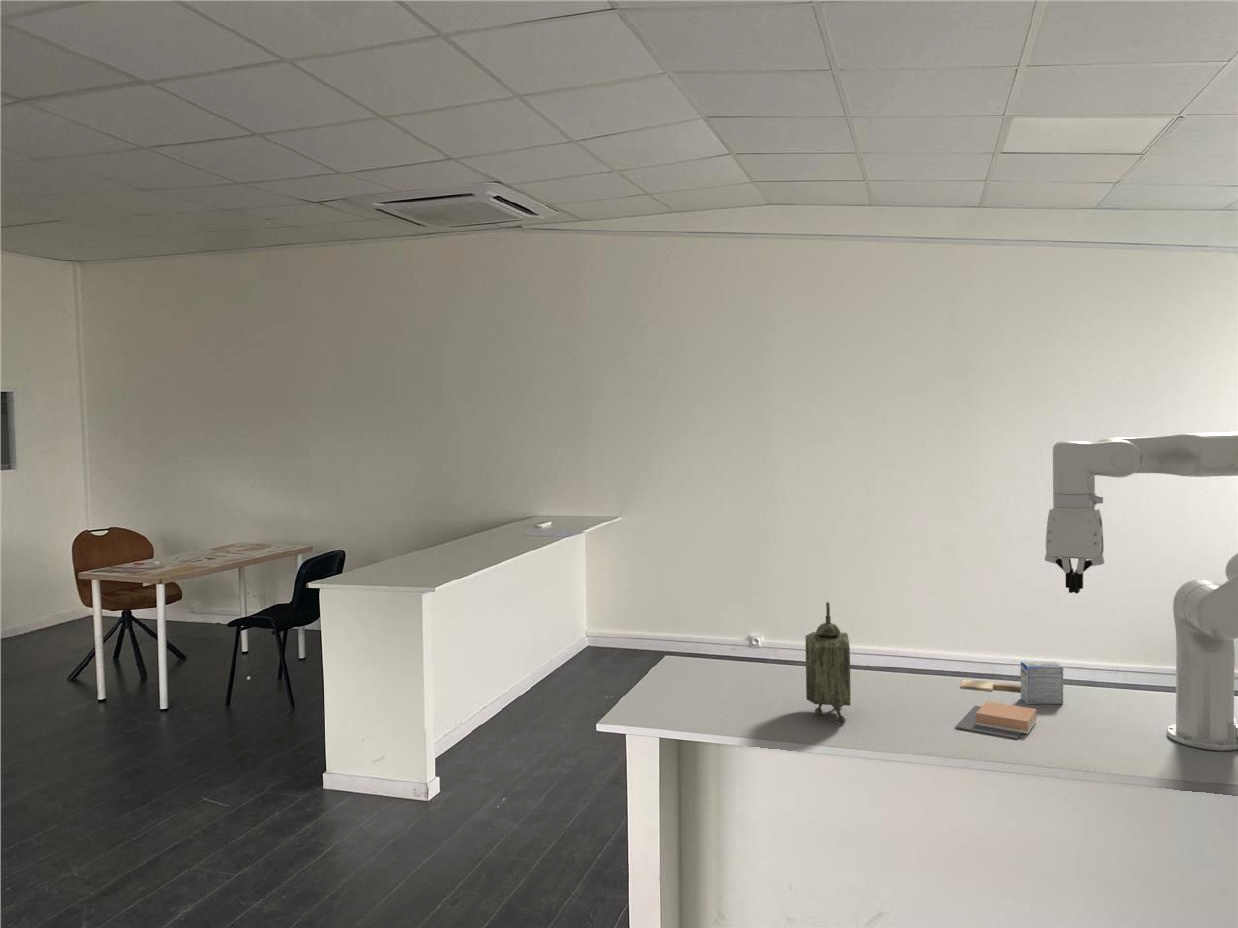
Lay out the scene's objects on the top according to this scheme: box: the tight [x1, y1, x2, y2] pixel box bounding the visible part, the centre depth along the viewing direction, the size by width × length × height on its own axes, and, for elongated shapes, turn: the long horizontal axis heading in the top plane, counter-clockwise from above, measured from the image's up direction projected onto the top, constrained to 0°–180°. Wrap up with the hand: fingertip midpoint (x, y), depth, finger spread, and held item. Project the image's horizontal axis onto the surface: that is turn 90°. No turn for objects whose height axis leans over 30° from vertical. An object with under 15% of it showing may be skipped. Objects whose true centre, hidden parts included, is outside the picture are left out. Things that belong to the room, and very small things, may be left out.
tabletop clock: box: [804, 601, 851, 725], centre depth 192 cm, size 14×9×25 cm, turn 168°
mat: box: [954, 705, 1023, 740], centre depth 186 cm, size 12×16×1 cm
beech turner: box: [960, 679, 1021, 692], centre depth 209 cm, size 17×6×1 cm, turn 64°
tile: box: [976, 701, 1038, 735], centre depth 184 cm, size 2×9×10 cm
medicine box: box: [1020, 661, 1064, 705], centre depth 198 cm, size 8×4×9 cm, turn 84°
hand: (1074, 591), depth 178 cm, fingers closed
